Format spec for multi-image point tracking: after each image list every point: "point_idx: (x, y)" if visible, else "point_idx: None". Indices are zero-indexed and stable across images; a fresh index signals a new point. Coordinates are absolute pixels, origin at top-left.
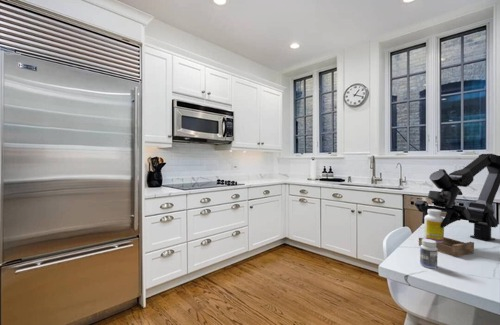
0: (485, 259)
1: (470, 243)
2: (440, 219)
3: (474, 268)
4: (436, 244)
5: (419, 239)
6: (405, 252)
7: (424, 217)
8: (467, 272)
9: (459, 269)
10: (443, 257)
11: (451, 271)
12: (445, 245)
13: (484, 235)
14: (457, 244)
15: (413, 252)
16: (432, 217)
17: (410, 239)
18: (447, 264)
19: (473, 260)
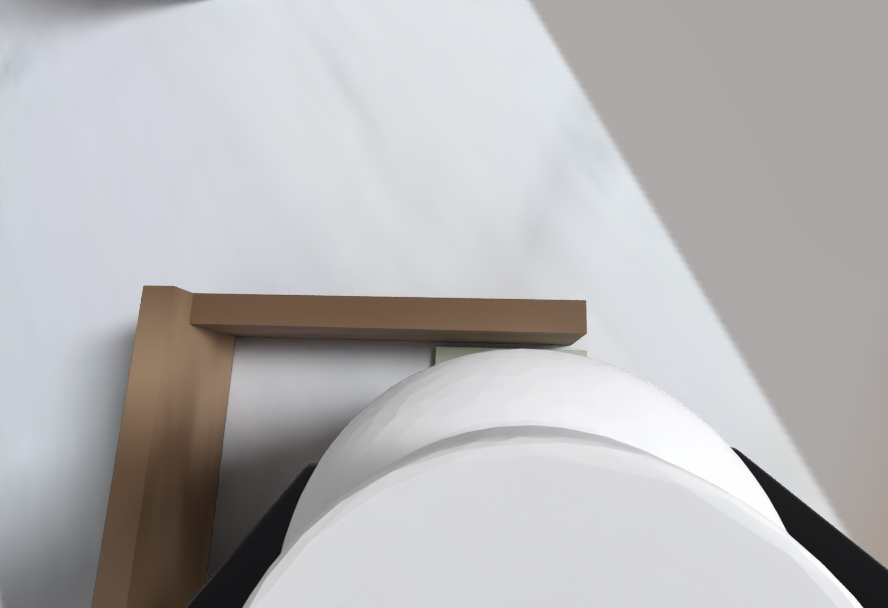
0: (51, 514)
1: (95, 600)
2: (291, 538)
3: (35, 198)
4: (360, 299)
5: (574, 305)
6: (469, 18)
7: (736, 455)
8: (37, 82)
9: (84, 83)
10: (255, 206)
11: (98, 4)
12: (264, 310)
13: None
14: (150, 372)
15: (441, 80)
16: (445, 401)
17: (778, 441)
18: (166, 92)
19: (98, 377)
